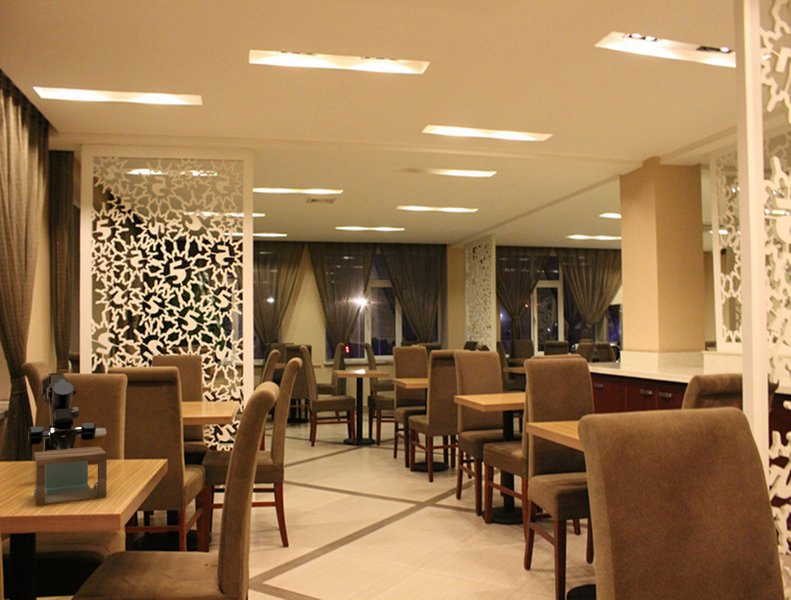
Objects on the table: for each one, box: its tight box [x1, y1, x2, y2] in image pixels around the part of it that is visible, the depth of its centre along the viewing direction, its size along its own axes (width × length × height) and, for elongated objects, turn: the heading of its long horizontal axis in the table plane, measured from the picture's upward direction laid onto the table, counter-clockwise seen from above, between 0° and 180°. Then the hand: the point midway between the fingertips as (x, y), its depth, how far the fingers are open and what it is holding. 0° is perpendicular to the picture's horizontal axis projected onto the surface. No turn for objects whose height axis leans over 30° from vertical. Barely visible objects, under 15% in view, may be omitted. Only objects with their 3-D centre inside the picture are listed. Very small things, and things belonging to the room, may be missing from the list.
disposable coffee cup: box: [78, 427, 108, 466], centre depth 239 cm, size 10×10×12 cm
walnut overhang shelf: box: [33, 446, 108, 507], centre depth 185 cm, size 16×17×12 cm
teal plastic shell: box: [45, 461, 92, 495], centre depth 188 cm, size 14×11×9 cm
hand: (63, 455), depth 203 cm, fingers closed
